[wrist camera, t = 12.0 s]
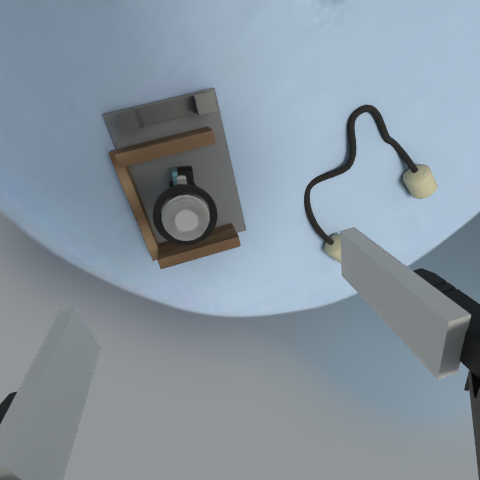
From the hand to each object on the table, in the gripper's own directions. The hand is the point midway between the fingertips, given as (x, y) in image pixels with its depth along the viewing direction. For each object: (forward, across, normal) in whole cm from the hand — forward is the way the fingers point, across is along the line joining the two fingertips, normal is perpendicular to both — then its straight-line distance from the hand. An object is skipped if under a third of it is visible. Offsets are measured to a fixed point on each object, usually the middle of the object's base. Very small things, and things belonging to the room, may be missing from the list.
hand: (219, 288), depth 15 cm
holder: (+21, -2, -1) cm, 21 cm away
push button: (+21, -2, -1) cm, 21 cm away
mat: (+21, -1, 0) cm, 21 cm away
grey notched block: (+21, -1, +7) cm, 22 cm away
